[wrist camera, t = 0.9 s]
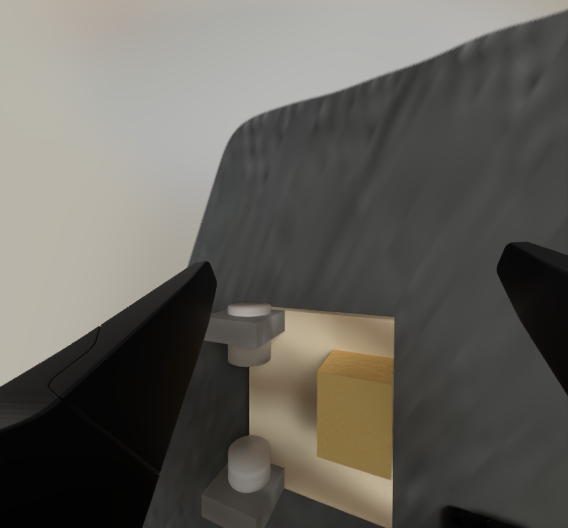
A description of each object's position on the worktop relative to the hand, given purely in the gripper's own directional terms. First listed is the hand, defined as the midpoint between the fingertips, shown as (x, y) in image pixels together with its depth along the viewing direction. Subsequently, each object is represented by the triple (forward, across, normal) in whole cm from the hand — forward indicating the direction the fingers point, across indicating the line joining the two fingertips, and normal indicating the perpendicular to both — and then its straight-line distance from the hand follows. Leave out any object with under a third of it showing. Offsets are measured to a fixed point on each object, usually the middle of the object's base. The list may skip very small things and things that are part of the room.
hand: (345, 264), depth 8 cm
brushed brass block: (+3, -1, +13) cm, 13 cm away
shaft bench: (+3, +2, +16) cm, 16 cm away
